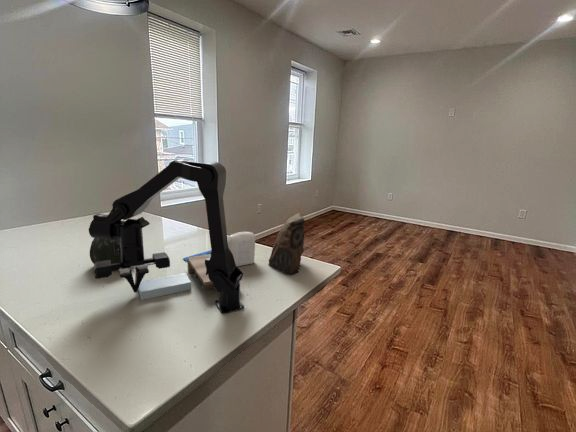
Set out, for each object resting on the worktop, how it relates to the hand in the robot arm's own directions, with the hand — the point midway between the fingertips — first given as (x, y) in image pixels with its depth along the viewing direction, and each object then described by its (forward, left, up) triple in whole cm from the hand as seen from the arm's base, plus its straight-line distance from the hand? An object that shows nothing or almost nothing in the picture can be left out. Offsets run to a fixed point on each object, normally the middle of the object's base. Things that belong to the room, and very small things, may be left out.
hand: (135, 291), depth 89 cm
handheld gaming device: (+19, -26, -2) cm, 32 cm away
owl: (-1, -50, -1) cm, 50 cm away
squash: (+25, +4, -1) cm, 25 cm away
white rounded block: (+8, -36, -1) cm, 37 cm away
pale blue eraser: (0, -8, -1) cm, 8 cm away
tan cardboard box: (0, -22, -1) cm, 22 cm away
